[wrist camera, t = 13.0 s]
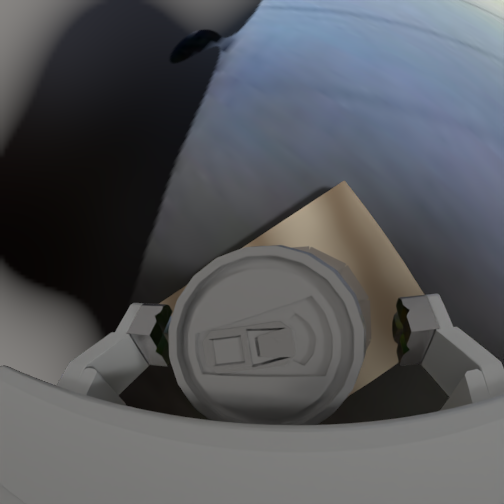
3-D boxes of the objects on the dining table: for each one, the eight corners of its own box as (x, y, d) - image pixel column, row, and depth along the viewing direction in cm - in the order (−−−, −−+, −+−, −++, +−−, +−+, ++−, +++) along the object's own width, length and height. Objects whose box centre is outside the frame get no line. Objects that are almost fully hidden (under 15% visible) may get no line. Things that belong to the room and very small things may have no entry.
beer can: (258, 370, 18) (180, 447, 7) (245, 289, 20) (149, 258, 8) (342, 356, 17) (383, 427, 6) (327, 273, 19) (350, 216, 7)
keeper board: (342, 188, 21) (347, 163, 17) (434, 326, 18) (458, 328, 14) (163, 307, 22) (134, 306, 18) (244, 443, 19) (230, 467, 15)
